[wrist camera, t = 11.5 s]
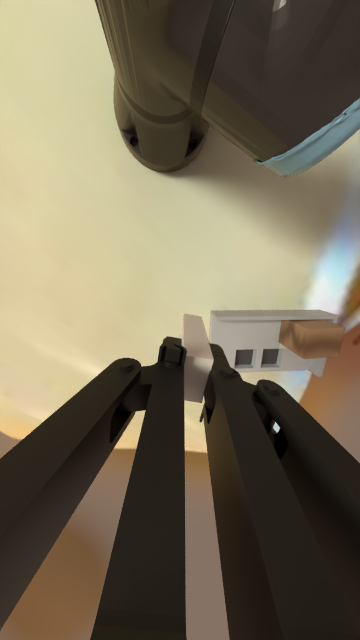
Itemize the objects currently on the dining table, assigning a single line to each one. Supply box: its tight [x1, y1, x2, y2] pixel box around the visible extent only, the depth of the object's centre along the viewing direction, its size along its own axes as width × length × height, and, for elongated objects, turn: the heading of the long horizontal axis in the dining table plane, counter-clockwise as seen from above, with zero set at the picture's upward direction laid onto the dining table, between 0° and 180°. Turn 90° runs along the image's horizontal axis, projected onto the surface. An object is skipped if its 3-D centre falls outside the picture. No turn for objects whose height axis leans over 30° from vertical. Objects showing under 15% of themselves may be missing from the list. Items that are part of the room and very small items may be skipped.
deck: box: [209, 310, 338, 377], centre depth 41 cm, size 15×26×5 cm, turn 90°
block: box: [278, 319, 345, 359], centre depth 37 cm, size 6×7×8 cm
